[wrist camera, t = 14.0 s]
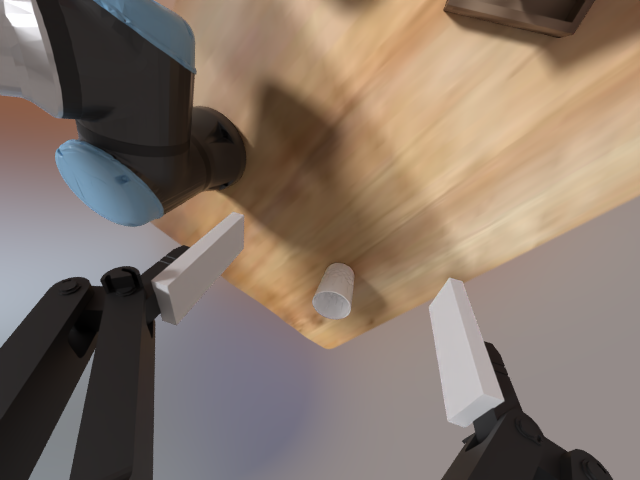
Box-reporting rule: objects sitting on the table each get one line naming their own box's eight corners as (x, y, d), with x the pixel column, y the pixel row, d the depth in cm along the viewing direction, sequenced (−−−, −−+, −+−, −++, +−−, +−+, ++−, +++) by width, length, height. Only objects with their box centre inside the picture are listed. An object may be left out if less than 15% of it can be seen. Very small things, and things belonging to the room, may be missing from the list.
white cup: (357, 262, 55) (350, 294, 46) (356, 288, 59) (350, 322, 51) (322, 258, 56) (310, 288, 48) (324, 284, 61) (313, 316, 52)
